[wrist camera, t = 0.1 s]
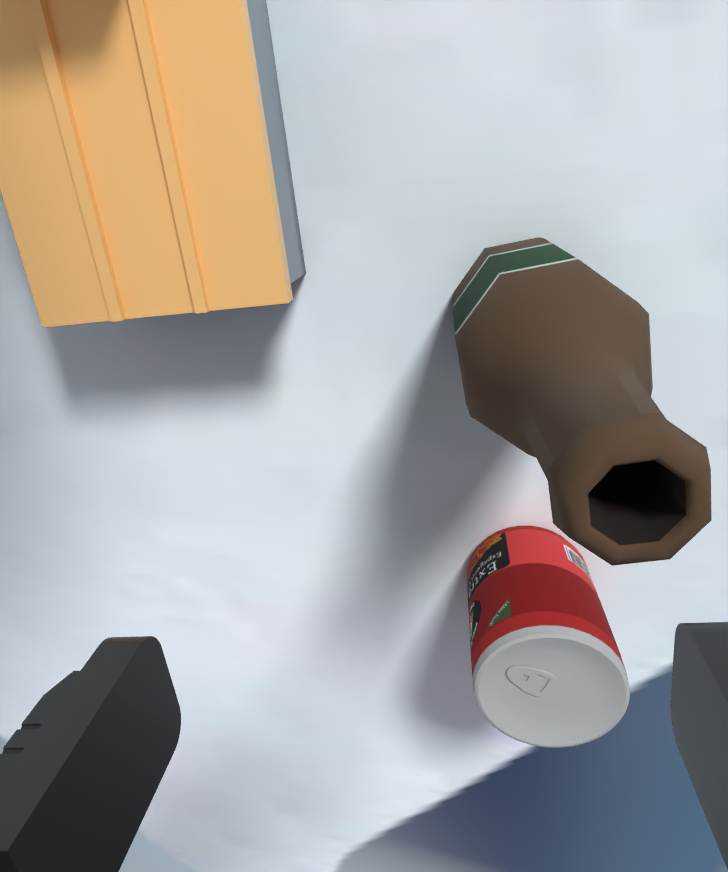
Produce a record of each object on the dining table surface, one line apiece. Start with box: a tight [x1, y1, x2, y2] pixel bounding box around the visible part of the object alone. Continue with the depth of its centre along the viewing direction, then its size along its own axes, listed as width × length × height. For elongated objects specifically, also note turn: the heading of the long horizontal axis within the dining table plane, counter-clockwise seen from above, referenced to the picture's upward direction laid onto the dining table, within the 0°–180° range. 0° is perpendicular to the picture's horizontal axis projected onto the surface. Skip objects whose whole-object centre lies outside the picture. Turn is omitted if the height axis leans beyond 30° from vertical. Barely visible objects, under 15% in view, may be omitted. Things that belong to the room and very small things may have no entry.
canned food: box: [467, 526, 630, 748], centre depth 38 cm, size 8×8×11 cm
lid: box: [0, 0, 293, 327], centre depth 28 cm, size 17×13×6 cm
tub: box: [247, 0, 306, 283], centre depth 32 cm, size 16×12×6 cm
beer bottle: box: [452, 238, 711, 565], centre depth 25 cm, size 8×8×24 cm
